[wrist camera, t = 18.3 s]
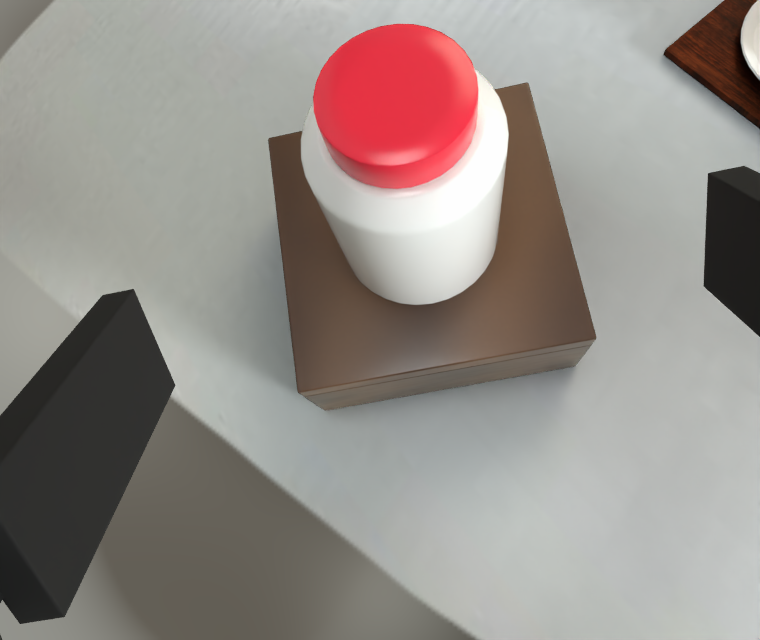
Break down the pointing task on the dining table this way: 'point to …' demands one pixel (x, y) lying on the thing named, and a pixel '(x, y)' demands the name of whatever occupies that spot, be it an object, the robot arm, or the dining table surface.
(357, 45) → the pill bottle
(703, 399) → the dining table surface
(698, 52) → the hamburger
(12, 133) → the dining table surface
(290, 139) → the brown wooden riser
